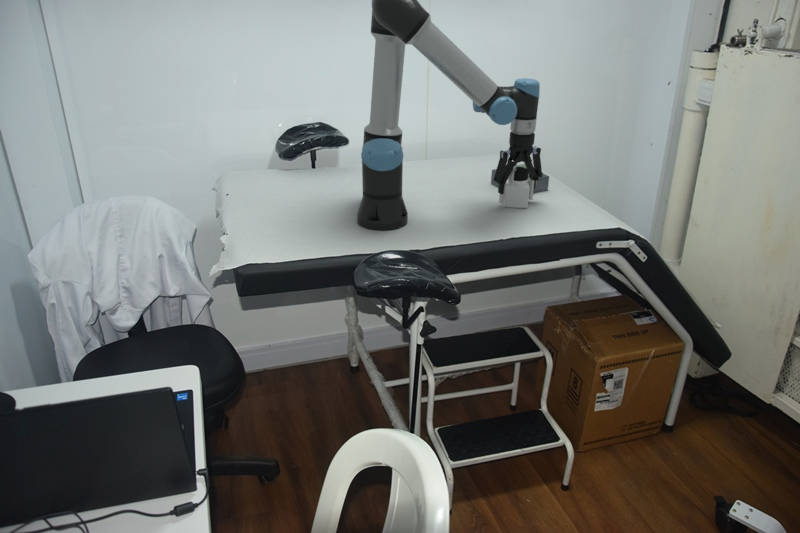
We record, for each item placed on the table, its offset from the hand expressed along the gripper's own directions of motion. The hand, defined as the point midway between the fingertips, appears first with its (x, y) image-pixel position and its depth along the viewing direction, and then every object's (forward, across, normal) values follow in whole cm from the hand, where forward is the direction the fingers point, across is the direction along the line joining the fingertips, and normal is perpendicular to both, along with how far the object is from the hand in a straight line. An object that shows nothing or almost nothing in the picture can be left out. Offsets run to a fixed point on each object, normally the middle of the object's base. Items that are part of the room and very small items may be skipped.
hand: (515, 200), depth 197 cm
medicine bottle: (+1, 0, 0) cm, 1 cm away
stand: (+1, +11, +14) cm, 18 cm away
